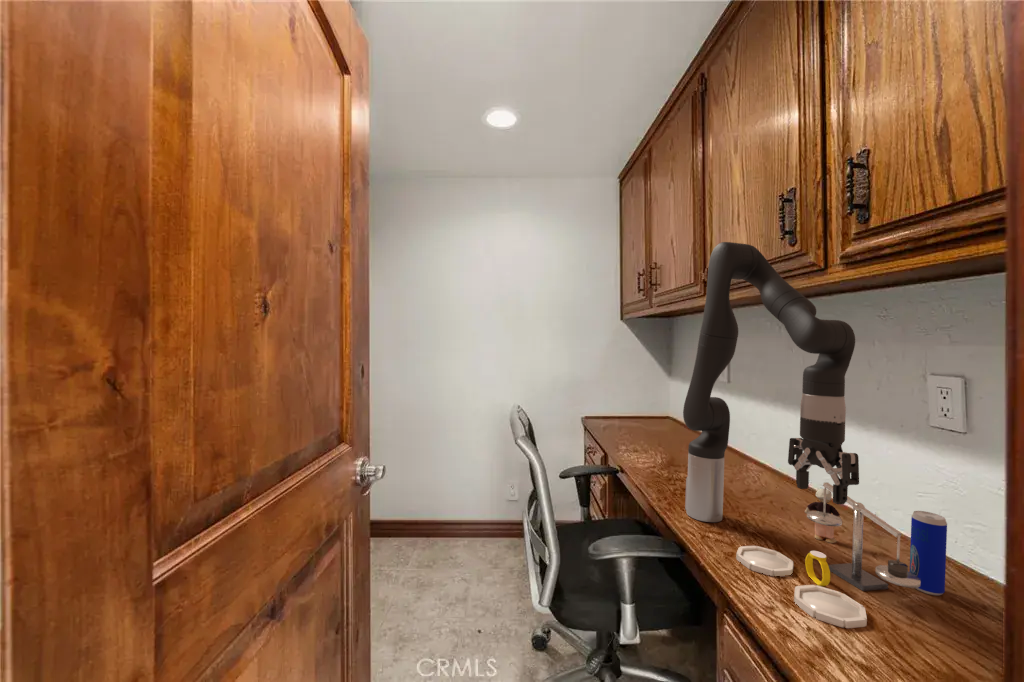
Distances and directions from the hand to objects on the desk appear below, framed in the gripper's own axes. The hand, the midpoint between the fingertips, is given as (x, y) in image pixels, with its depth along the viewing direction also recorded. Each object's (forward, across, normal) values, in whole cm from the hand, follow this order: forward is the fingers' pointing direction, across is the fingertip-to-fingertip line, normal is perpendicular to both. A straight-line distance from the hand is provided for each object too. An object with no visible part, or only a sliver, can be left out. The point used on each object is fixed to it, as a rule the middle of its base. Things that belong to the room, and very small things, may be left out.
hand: (820, 495), depth 88 cm
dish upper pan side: (+18, -8, -6) cm, 20 cm away
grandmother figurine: (+18, -17, +18) cm, 31 cm away
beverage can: (+18, +5, +20) cm, 28 cm away
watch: (+18, 0, 0) cm, 18 cm away
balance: (+18, 0, +10) cm, 20 cm away
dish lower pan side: (+18, +8, -6) cm, 20 cm away
